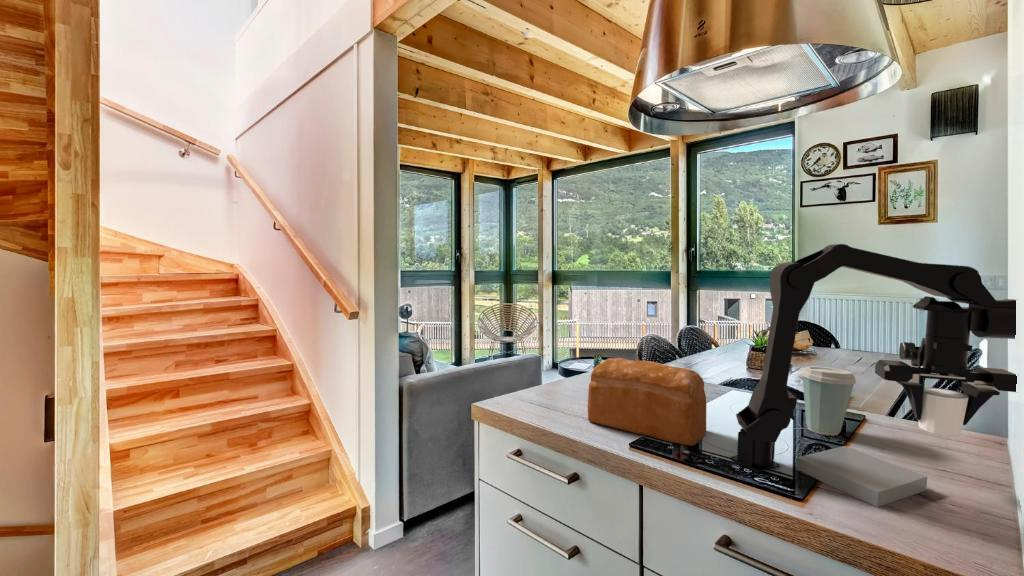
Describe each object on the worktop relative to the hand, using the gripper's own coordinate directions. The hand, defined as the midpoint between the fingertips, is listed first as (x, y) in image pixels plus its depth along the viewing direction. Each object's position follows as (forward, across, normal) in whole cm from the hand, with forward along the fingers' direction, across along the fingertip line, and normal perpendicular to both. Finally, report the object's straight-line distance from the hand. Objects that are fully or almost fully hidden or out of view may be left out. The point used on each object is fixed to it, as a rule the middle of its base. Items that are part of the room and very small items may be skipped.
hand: (939, 421), depth 84 cm
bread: (+12, +52, -8) cm, 54 cm away
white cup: (+2, 0, 0) cm, 2 cm away
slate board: (+11, +13, +4) cm, 17 cm away
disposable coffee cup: (+12, +13, -21) cm, 27 cm away
